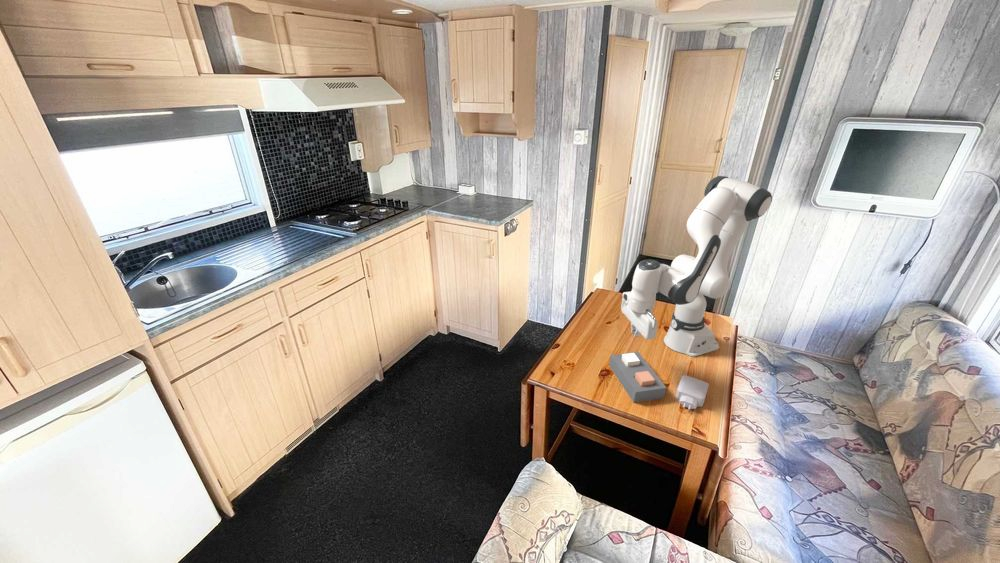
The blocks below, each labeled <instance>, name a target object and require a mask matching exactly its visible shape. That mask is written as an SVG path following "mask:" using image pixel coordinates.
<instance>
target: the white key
mask: <svg viewBox="0 0 1000 563" xmlns="http://www.w3.org/2000/svg"><path fill="white" fill-rule="evenodd" d="M627 353H628V354H625V353H621V354H622V358H621V360H622V361H623V362H624V364H625V365H626V367H632V366H639V364H640V360H639V359H638V357H637V356H636V355H635V353H633V352H627Z"/></svg>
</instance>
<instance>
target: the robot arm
mask: <svg viewBox="0 0 1000 563" xmlns="http://www.w3.org/2000/svg"><path fill="white" fill-rule="evenodd" d="M703 193H704V197H703V198H702V200H701V201H700V202H699V203H698V204H697V205H696V207H695V209H694V210H693V211H692V212H691V214H690V215H689V216H688V218H687V221H686V230H687V233H688V235H689V236H690V238H691V239H692V240H693V241H694V242H695V244H696V245H697V247H698V252H697V255H696V257H695V256H693V255H688V254H685V253H684V254H680V255H677V256H676V257H674V258H673V260H672V262H671V264H670V265H668V264H665V263H660V262H659V261H657V260H655V259H643V260H641V261H640V262H638V264H637V265H636V268H635V270H634V273H633V276H632V281H631V286H632V288H631V291H624V292H623V293H622V299H621V304H620V309H621V312H622V314H623V315H624V316H625V317H626V318H627V319H628V321H629V322H630V327H631V331H630V333H631V335H632V336H634V337H635V338H638V337H640V334H641V336H642V337H643V338H644V339H645V340H653V339H655V338H656V337H657V333H658V320H657V319H656V317H655V314H653V312H654V310H655V304H656V301H657V300H656V299H657V295H656V294H657V293H660V294H662V295H663V296H666V297H667V298H668V299H669V300H670V301H672V302H673V303H674V304H675V307H674V308H675V309H674V311H673V313H672V316H671V321H670V325H669V327H668V330H667V332H666V334H665V336H664V337H663V343H664V344H665V345H666V346H667V347H668V348H669V349H671V350H672V351H675V352H678V353H681V354H684V355H687V356H690V357H693V358H695V357H699V356H701V355H704V354H708V353H711V352H714V351H717V350H719V349H720V345H719V343H718V341H717V340H716V337H715V332H714V331H713V330H712V329H711V328H710V327H709V325H711V324H712V322H711V320H709V319H708V318H705V316H704V315H705V313H706V308H707V300H706V297H708V298H710V299H714V300H716V299H719V298H722V297H723V296H725V295H726V294H727V293H728V292H729V290H730V287H731V280H730V278H729V274H728V273H729V272H728V266H729V260H730V257H731V254H733V251H734V250H735V248H736V246H737V244H738V243H739V241H740V239H741V238H742V237H743V235H744V233H745V231H746V229H747V227H748V224H749V222H751V221H752V220H756V219H759V218H760V217H762V216H764V214H766V212H767V211H768V210H769V208H770V207H771V204H772V203H773V202H772V201H773V195H772V193H771V192H770V191H769V190H767V189H766V188H764V187H759V186H757V185H755V184H754V183H753V184H752V183H750V182H748V181H743V180H739V179H734V178H730V177H729V176H726V175H725V176H724V175H718V176H715V177H713V178H712V179H710V181H709V182H708V183H707V185H706V187H705V188H704V192H703ZM705 296H706V297H705Z"/></svg>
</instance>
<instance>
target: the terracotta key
mask: <svg viewBox="0 0 1000 563" xmlns="http://www.w3.org/2000/svg"><path fill="white" fill-rule="evenodd" d="M635 379H636V381H637V382H638V384H639V385H640V386H641V387H644V386H651V385H654V382H655V379H654V378H653V377H652V375H651V374H650V373H649V372H648V371H644V372H636V373H635Z"/></svg>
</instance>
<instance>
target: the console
mask: <svg viewBox="0 0 1000 563" xmlns="http://www.w3.org/2000/svg"><path fill="white" fill-rule="evenodd" d="M628 353H629V352H627V353H624V354H628ZM632 353H635V355H636V356H637V357H638V359H639V360H640V364H639V366H632V367H626V365H625V364H624V362H623V361H622V360H621V358H622V354H623V353H619V354H618V353H617V354H610V355H609V356H610V358H609V362H608V365H609V367H610V369H611V370H612V372H613V373H614V374H613V375H615V377H616V378H617V379H618V381H619V383H620V384H621V386H622V387H623V389H624V390H625V392H626V394H627V395H628V397H629V398H630V399H631V401H632V402H633V403H639V402H646V401H653V400H660V399H665V396H666V391H667V386H666V385H665V384H664V383H663V381H662V380H661V378H660V377H659V376H658V375H657V373H655V371H654V370H653V368H651V366H650V365H649V363H648V362H647V361H646V359H644V357H643V355H642V354H641V353H640V352H639V351H635V352H632ZM644 371H648V372H649V373H650V374H651V375H652V377H653V378H654V379H655V382H654V385H651V386H644V387H641V386H640V385H639V384H638V382H637V381H636V379H635V373H636V372H644Z"/></svg>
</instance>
